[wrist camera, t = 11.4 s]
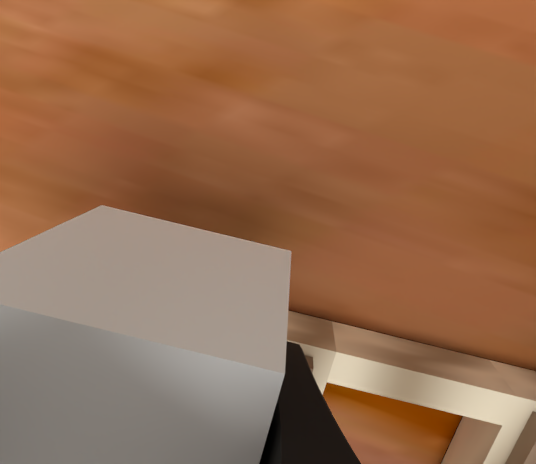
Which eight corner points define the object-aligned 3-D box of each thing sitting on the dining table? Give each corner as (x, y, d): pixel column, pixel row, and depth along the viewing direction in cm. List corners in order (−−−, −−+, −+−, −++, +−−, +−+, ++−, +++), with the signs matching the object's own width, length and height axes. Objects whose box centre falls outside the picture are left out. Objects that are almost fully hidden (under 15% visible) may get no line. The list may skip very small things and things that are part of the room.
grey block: (291, 251, 10) (285, 374, 5) (250, 407, 12) (216, 612, 7) (101, 205, 10) (-74, 286, 5) (85, 366, 12) (-65, 543, 7)
